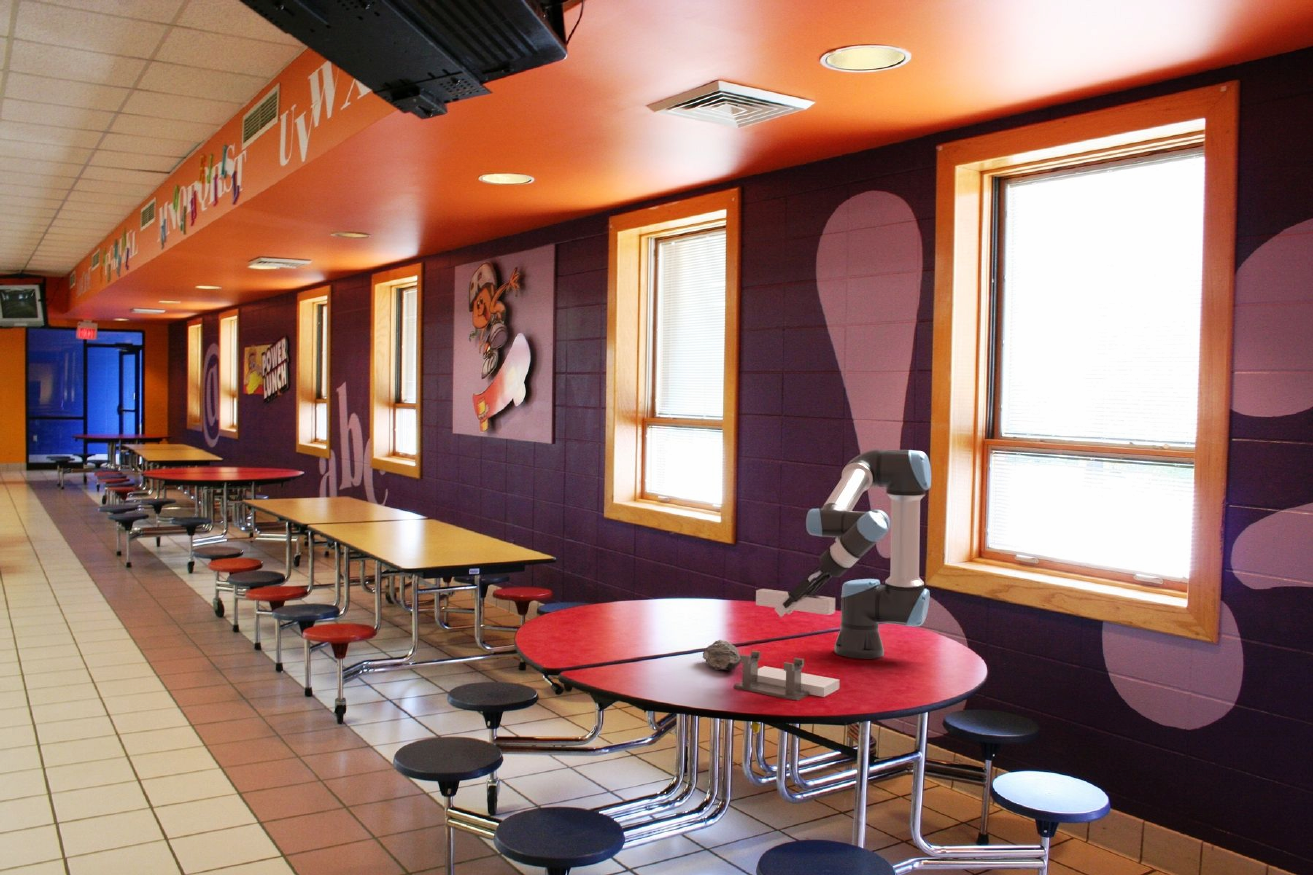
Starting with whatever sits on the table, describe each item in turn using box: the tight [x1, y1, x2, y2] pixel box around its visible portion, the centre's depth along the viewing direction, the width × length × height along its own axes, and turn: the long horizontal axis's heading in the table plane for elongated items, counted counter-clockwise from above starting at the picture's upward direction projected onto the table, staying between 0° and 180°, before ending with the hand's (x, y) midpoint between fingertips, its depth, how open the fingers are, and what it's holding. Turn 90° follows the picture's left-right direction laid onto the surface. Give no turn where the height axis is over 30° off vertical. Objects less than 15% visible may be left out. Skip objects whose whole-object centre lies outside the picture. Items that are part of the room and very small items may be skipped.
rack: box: [733, 650, 810, 702], centre depth 259 cm, size 7×19×9 cm, turn 56°
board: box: [757, 665, 840, 698], centre depth 265 cm, size 10×23×2 cm, turn 56°
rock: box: [702, 639, 741, 672], centre depth 283 cm, size 18×10×10 cm
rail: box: [755, 588, 836, 616], centre depth 265 cm, size 4×22×4 cm, turn 56°
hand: (782, 611), depth 267 cm, fingers closed on rail, 4 cm apart
